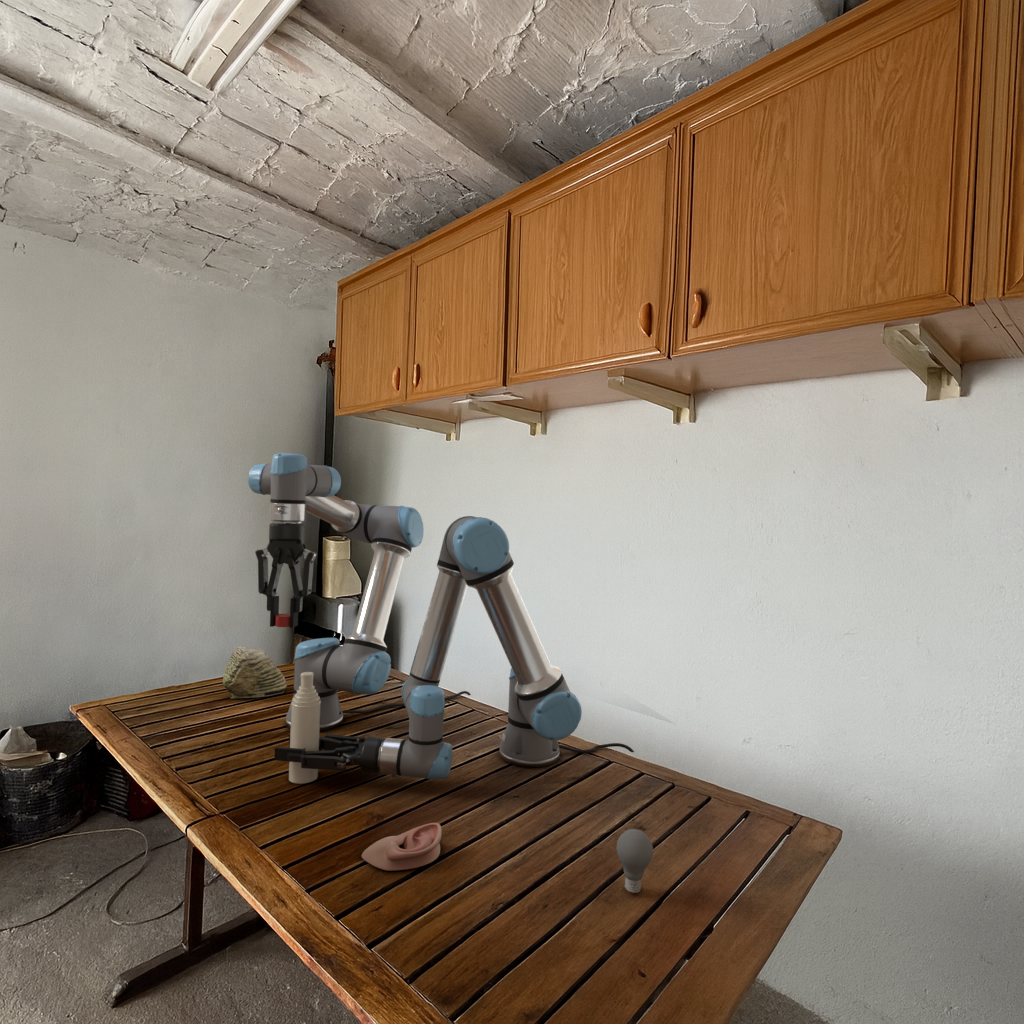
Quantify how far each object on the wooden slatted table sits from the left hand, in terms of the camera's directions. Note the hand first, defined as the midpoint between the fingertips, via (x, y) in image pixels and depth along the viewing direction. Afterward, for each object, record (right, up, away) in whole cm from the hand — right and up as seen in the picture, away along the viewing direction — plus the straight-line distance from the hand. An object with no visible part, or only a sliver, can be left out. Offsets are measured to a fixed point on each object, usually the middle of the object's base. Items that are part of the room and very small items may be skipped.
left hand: (283, 625), depth 143 cm
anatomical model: (+32, -36, -29) cm, 56 cm away
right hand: (0, -27, 0) cm, 27 cm away
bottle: (+5, -34, 0) cm, 34 cm away
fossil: (-29, -32, +55) cm, 70 cm away
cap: (0, +2, 0) cm, 2 cm away
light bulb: (+72, -38, -37) cm, 89 cm away
